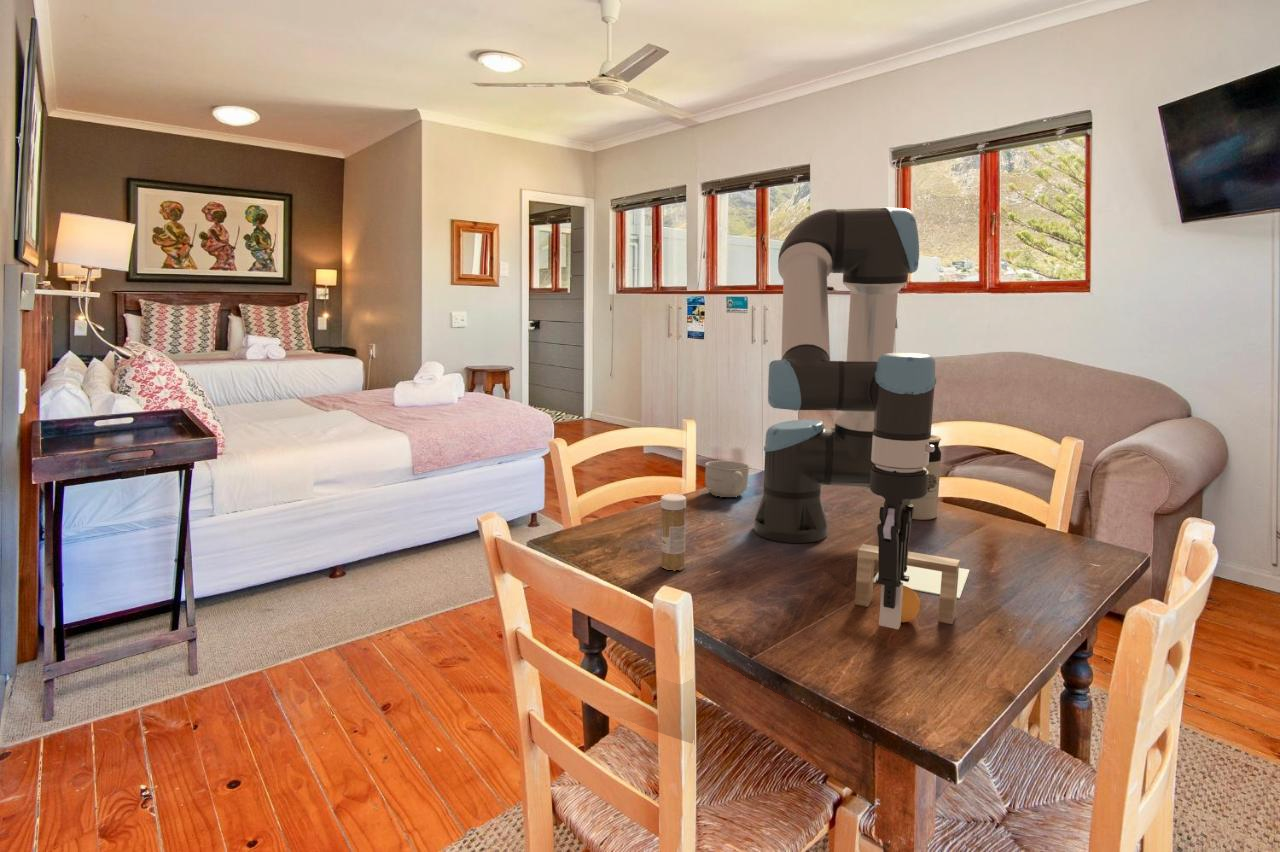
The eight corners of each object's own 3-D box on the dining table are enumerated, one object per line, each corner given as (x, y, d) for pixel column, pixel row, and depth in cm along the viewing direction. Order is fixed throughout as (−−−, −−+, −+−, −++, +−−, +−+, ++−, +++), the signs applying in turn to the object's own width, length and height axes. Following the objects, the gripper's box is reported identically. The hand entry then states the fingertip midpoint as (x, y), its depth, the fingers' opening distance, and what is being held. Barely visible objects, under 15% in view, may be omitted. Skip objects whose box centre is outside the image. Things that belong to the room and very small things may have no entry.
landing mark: (871, 582, 125) (871, 581, 125) (889, 556, 137) (889, 555, 137) (959, 598, 118) (959, 597, 118) (969, 570, 130) (969, 569, 130)
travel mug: (895, 509, 167) (900, 432, 164) (931, 510, 166) (937, 433, 162) (902, 520, 159) (908, 439, 156) (940, 521, 158) (946, 440, 155)
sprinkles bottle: (658, 564, 134) (658, 493, 131) (682, 562, 135) (682, 492, 132) (663, 573, 129) (663, 500, 127) (688, 571, 130) (688, 499, 128)
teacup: (701, 490, 184) (701, 459, 183) (743, 488, 185) (744, 458, 184) (711, 505, 171) (711, 472, 169) (756, 504, 171) (757, 471, 170)
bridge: (952, 624, 109) (956, 566, 107) (855, 604, 116) (857, 549, 115) (955, 616, 112) (959, 560, 110) (859, 597, 119) (862, 544, 117)
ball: (888, 585, 114) (882, 620, 113) (881, 578, 110) (875, 615, 108) (924, 592, 111) (919, 628, 110) (919, 586, 107) (914, 623, 106)
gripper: (919, 479, 92) (908, 650, 97) (936, 459, 104) (925, 613, 108) (860, 472, 96) (851, 637, 101) (882, 453, 107) (873, 603, 112)
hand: (889, 625), depth 104 cm, fingers closed
